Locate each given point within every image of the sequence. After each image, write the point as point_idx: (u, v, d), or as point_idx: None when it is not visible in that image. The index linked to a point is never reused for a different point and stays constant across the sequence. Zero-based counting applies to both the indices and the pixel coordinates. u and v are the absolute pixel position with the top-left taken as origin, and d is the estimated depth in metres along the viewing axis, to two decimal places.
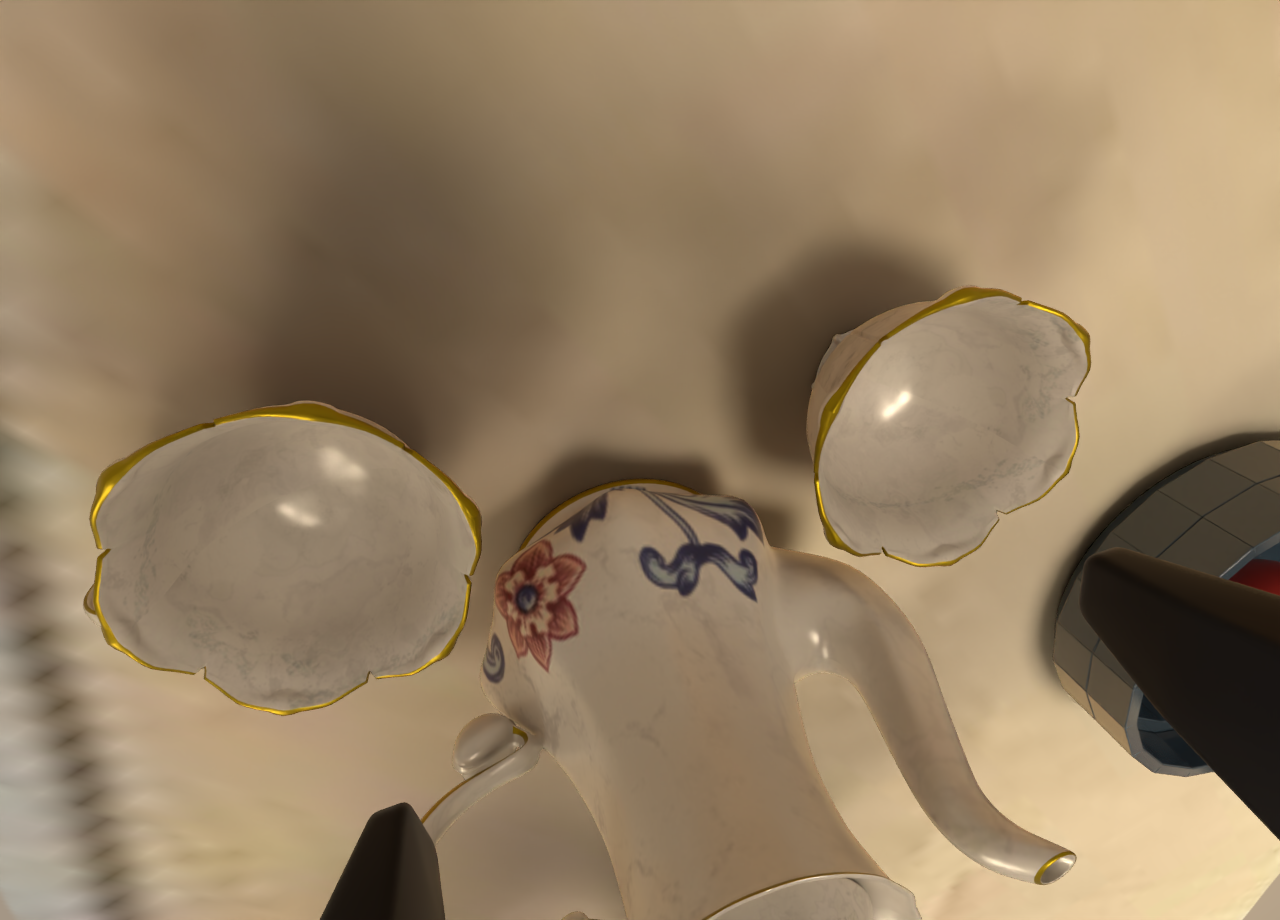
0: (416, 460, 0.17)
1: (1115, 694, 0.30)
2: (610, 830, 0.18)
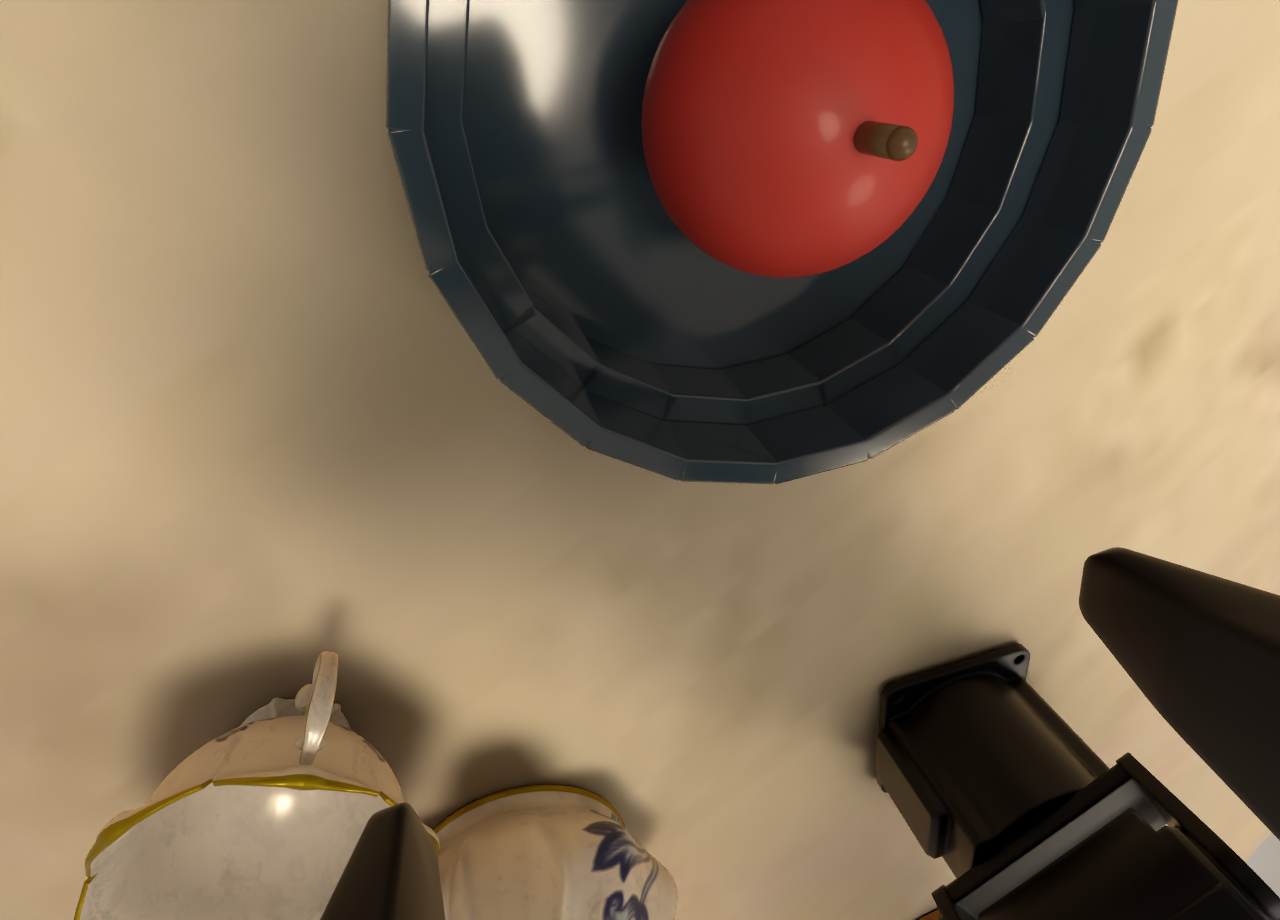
0: None
1: None
2: None
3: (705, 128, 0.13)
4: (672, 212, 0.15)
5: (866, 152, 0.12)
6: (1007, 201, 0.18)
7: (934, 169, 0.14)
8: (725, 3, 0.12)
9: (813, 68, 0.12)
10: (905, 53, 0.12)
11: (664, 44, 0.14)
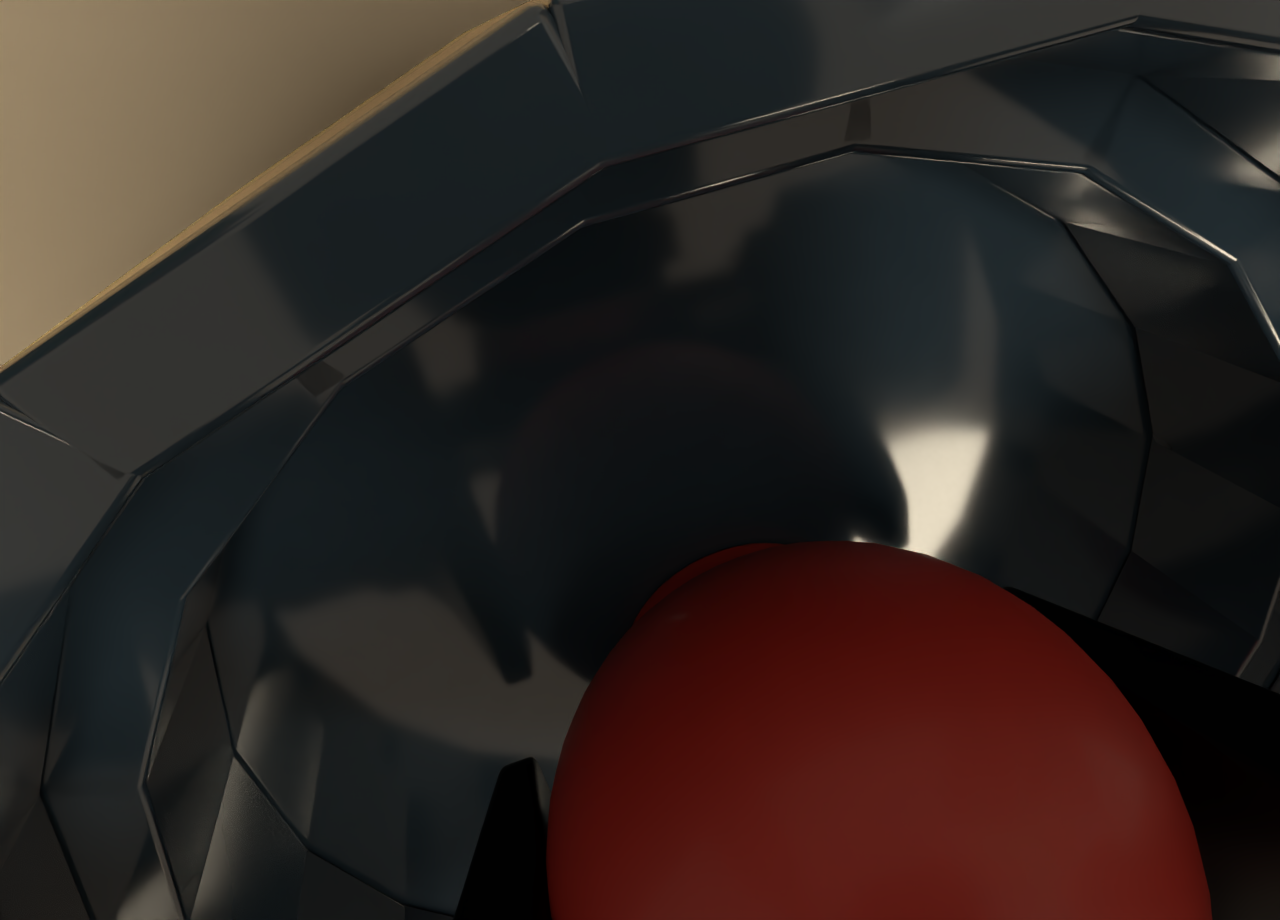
0: None
1: None
2: None
3: None
4: None
5: None
6: None
7: None
8: (688, 892, 0.05)
9: None
10: None
11: (570, 825, 0.06)
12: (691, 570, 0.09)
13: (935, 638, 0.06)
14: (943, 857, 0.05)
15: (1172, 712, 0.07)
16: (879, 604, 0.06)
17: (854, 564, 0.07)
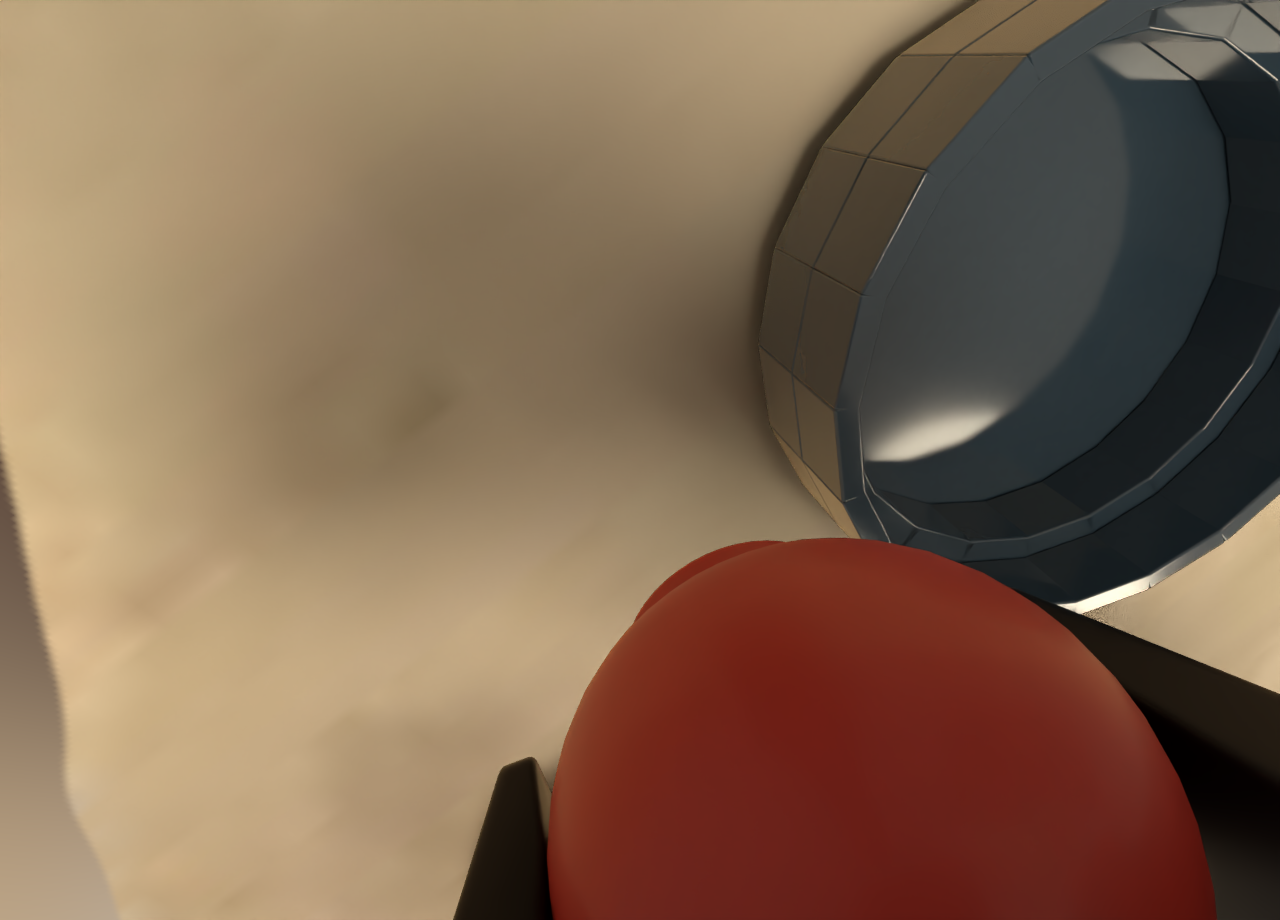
0: None
1: None
2: None
3: None
4: None
5: None
6: (1260, 357, 0.20)
7: None
8: (689, 889, 0.05)
9: None
10: None
11: (571, 822, 0.06)
12: (692, 568, 0.09)
13: (937, 633, 0.06)
14: (947, 854, 0.05)
15: (1172, 712, 0.07)
16: (882, 600, 0.06)
17: (856, 561, 0.07)
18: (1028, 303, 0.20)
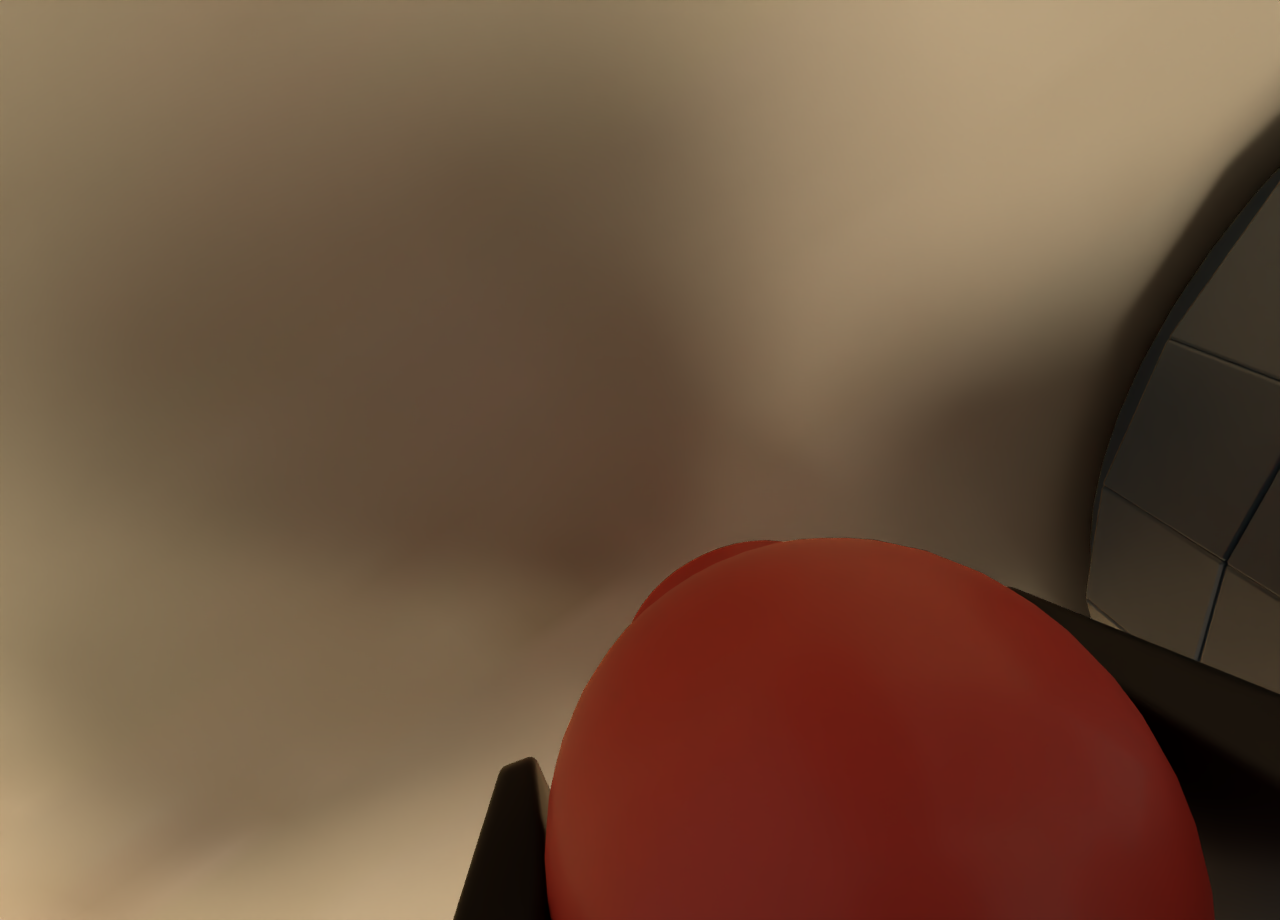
0: None
1: None
2: None
3: None
4: None
5: None
6: None
7: None
8: (687, 889, 0.05)
9: None
10: None
11: (569, 822, 0.06)
12: (691, 568, 0.09)
13: (935, 634, 0.06)
14: (944, 854, 0.05)
15: (1171, 712, 0.07)
16: (880, 600, 0.06)
17: (854, 561, 0.07)
18: None
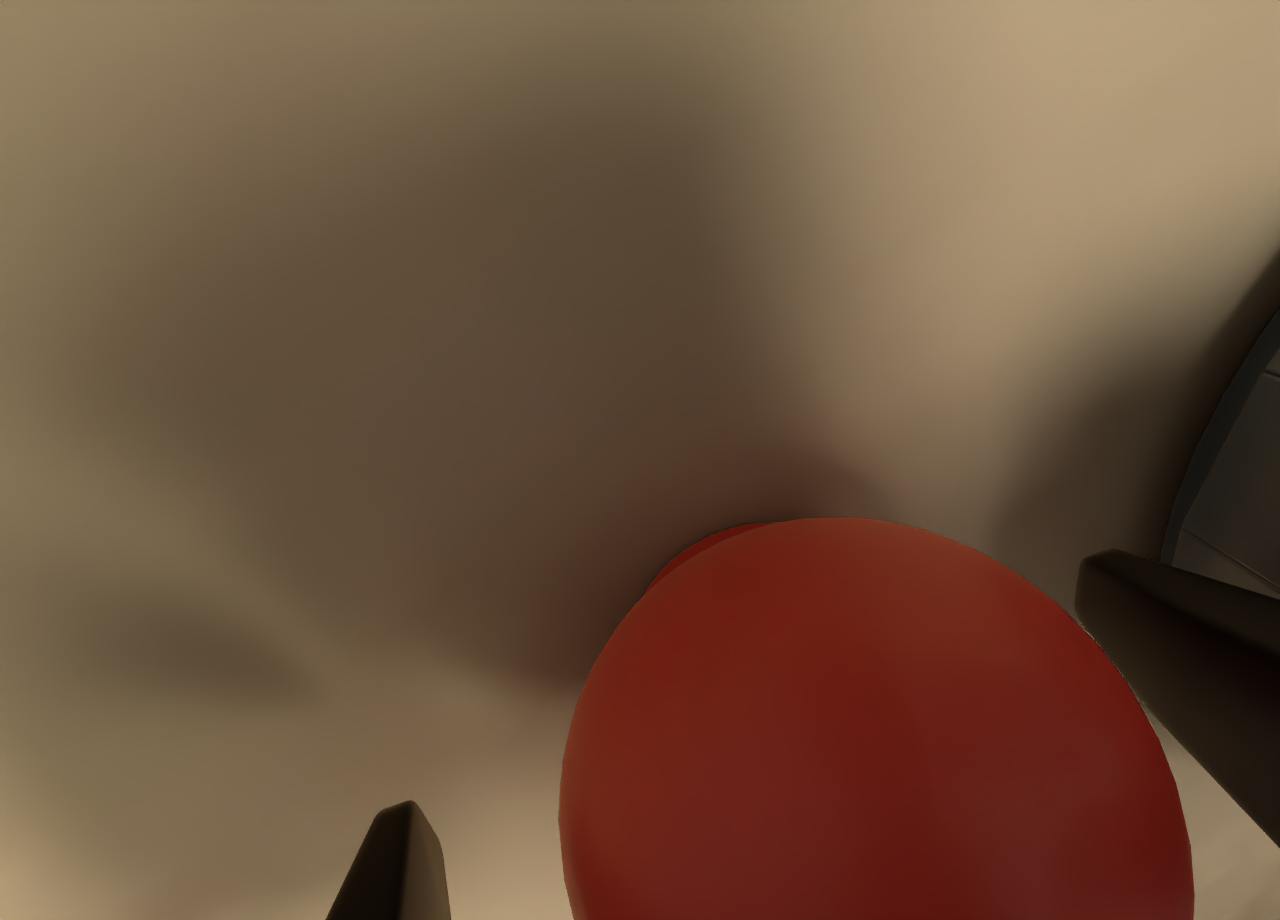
0: None
1: None
2: None
3: None
4: None
5: None
6: None
7: None
8: (696, 836, 0.06)
9: None
10: None
11: (583, 781, 0.07)
12: (697, 548, 0.09)
13: (930, 600, 0.06)
14: (937, 799, 0.05)
15: None
16: (877, 570, 0.06)
17: (854, 536, 0.07)
18: None
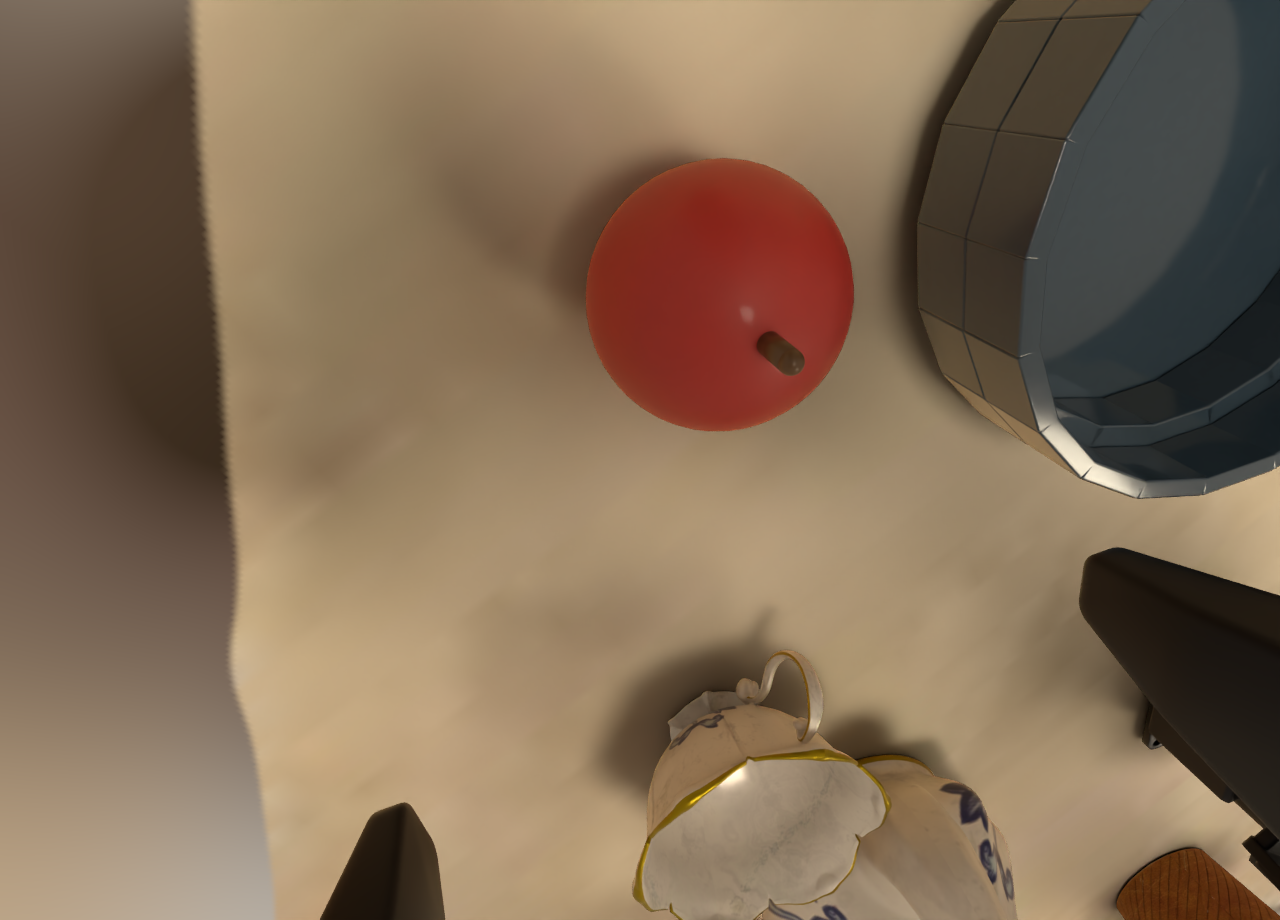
0: None
1: None
2: None
3: (633, 337, 0.15)
4: (618, 385, 0.17)
5: (767, 359, 0.14)
6: None
7: (838, 346, 0.16)
8: (642, 234, 0.15)
9: (716, 294, 0.14)
10: (796, 272, 0.14)
11: (597, 255, 0.16)
12: None
13: (738, 162, 0.15)
14: (727, 204, 0.14)
15: None
16: (720, 159, 0.15)
17: None
18: (1163, 194, 0.21)
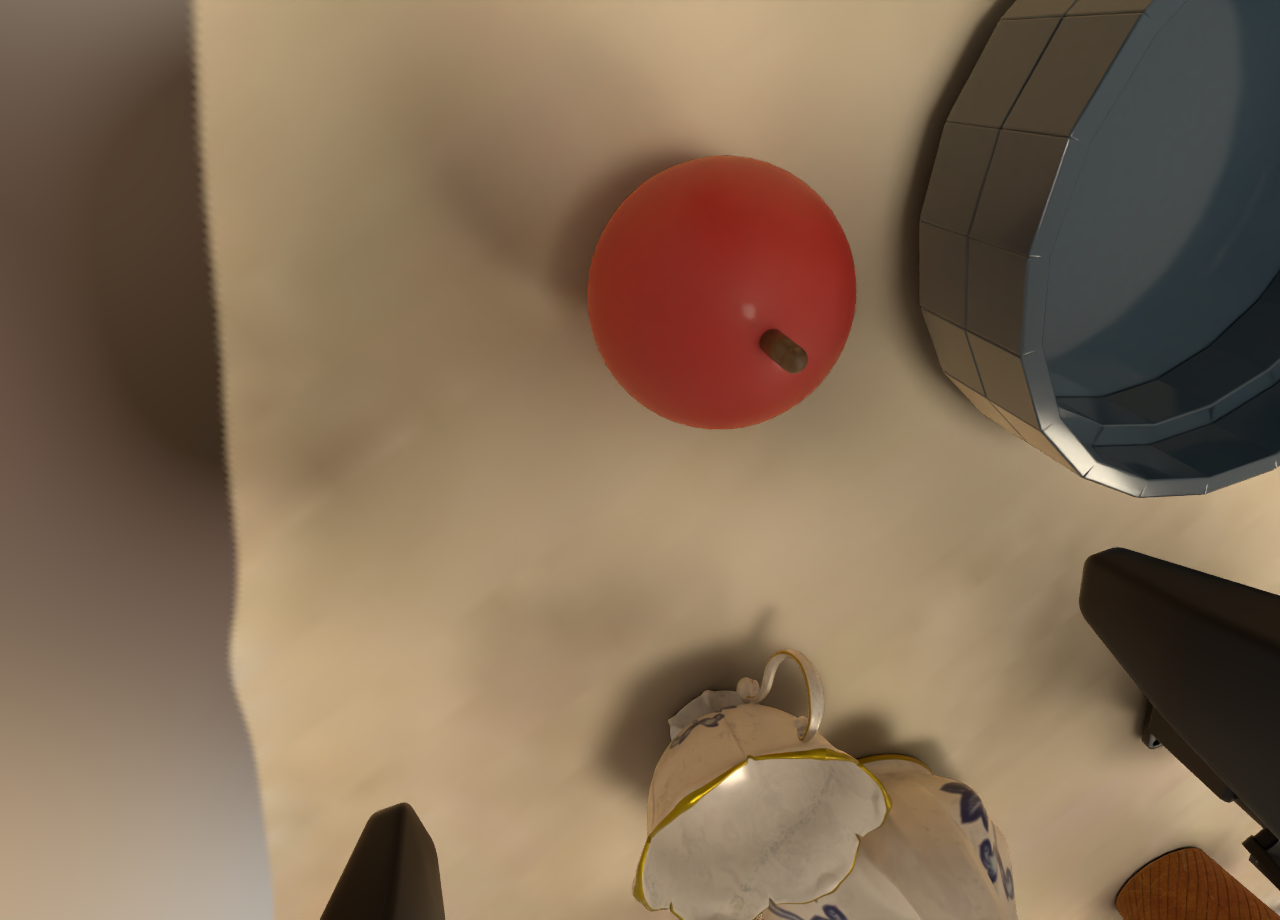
0: None
1: None
2: None
3: (635, 335, 0.15)
4: (619, 383, 0.17)
5: (770, 357, 0.14)
6: None
7: (840, 345, 0.16)
8: (644, 231, 0.14)
9: (719, 292, 0.14)
10: (799, 269, 0.14)
11: (599, 252, 0.16)
12: None
13: (740, 160, 0.15)
14: (730, 201, 0.14)
15: None
16: (722, 156, 0.15)
17: None
18: (1165, 193, 0.21)
